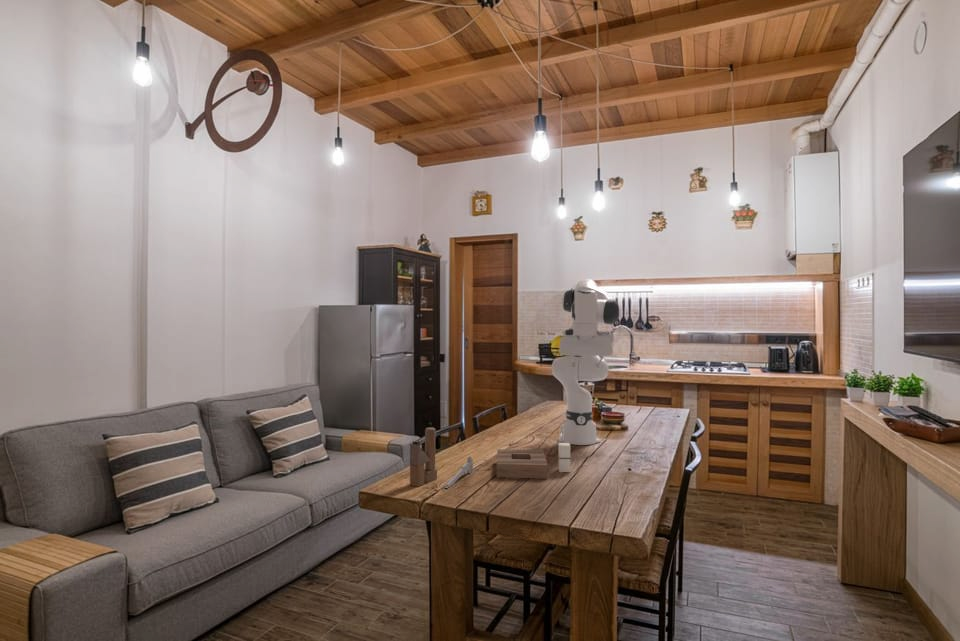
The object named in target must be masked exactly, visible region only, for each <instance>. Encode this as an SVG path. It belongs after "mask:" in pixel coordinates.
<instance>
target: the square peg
mask: <svg viewBox="0 0 960 641" xmlns="http://www.w3.org/2000/svg"><path fill="white" fill-rule="evenodd" d="M557 444H558V445H557V446H558V451H557V454H558V455H557V456H558V457H557V458H558V459H557V460H558V461H557V462H558V463H557V464H558V466H557V469H558V472H570V473H571V444H569V443H565V442H558V443H557Z"/></svg>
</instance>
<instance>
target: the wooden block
mask: <svg viewBox="0 0 960 641" xmlns="http://www.w3.org/2000/svg"><path fill="white" fill-rule="evenodd" d="M436 479H438V469H437V468H436V428H435V427H432V426H431V427H426V428H425V429H424V450H423V449H422V448H421V447H420V446H419V445H418V444H415V443H414V444H413V443H410V444H409V484H410V486H411V485H412V487H416V488H418V487H421V486H423V485H425V484H426V483H430V482H432V481H434V480H436Z"/></svg>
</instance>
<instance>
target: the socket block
mask: <svg viewBox="0 0 960 641" xmlns="http://www.w3.org/2000/svg"><path fill="white" fill-rule="evenodd" d="M496 450H497V451H496V452H497V453H496V478H497V477H505V478H504V479H521V478H535V479H536V480H548V478H549V477H548V476H549V475H548V471H549V470H548V467H549V466H548V461H547V458H546V454H545V452H544V450H543V449H502V448H500V449H496ZM535 479H534V480H535Z"/></svg>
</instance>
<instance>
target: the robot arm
mask: <svg viewBox="0 0 960 641" xmlns="http://www.w3.org/2000/svg"><path fill="white" fill-rule="evenodd" d="M561 305H562V309H563V310H564V311H565V312H568V313H571V318H572V323H571V327H569V328H567V329H564V330H562V331H561V332H562V335H563V336H562V337H561V338H560V341H559V348H558V352H559V354H560V355H561V356H560V357H559V356H558V357H556V358H555V359H554V360H553V361H552V363H551V373H552V375H553V377H555V379H557V380H558V381H559V382H560V383H561V385H562V387H563V388H564V390H565V394H566V412H565V418H566V419H565V421H564V422H563V423H562V424H561V426H560V431H561V432H560V435H559V436H558V440H557V441H558V442H559V443H569V444H570V445H575V446H576V445H577V446H589V445H594V444H596V443H600V442H601V439H599V437H597V424H596V423H595V422H594V421H593V419H594V412H593V410H592V409H593V408H592V407H593V406H592V405H593V404H592V403H593V399H592V398H593V396H592V394H591V392H590V391H589V390H587V389H586V388H584V387H582V386H581V385H580V384H579V382H583V381H584V382H599V381H604V380H606V378H607V376H608V375H609V371H610V368H609V363H608V362H607V361H606V360H605V359H604V357H611V356H612V355H613V354H614V352H613V350H614V349H613V343H614V334H613V333H612V332H610V331H598V330H599V326H598V324H605V325H606V324H607V325H614V324H615V323H616V322H617V321H618V320H619V318H620V312H621V311H620V310H621V308H620V306H619V303H618V301H616V299H614V298H613V297H612V296H611V295H610V293H608V292H607V291H605V290H603V289H601V288H599V286H598V284H597V282H596V281H594V280H593V279H591V278H583V279H581V280H580V281H578V282H577V284H576V285H575V288H574V289H573V288H571V289H568V290H567V291H565V292H564V294H563V295H562V298H561ZM564 355H565V356H564Z"/></svg>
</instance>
